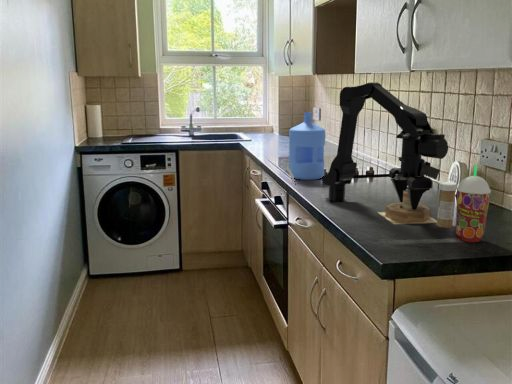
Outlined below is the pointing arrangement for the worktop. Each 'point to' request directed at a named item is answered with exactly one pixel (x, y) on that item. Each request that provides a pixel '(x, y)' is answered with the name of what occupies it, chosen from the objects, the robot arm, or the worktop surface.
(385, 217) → the board
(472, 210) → the smoothie
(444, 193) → the sprinkles bottle
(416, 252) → the worktop surface
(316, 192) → the worktop surface
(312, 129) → the water jug
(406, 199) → the cream banded cylinder
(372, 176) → the worktop surface
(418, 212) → the bead
